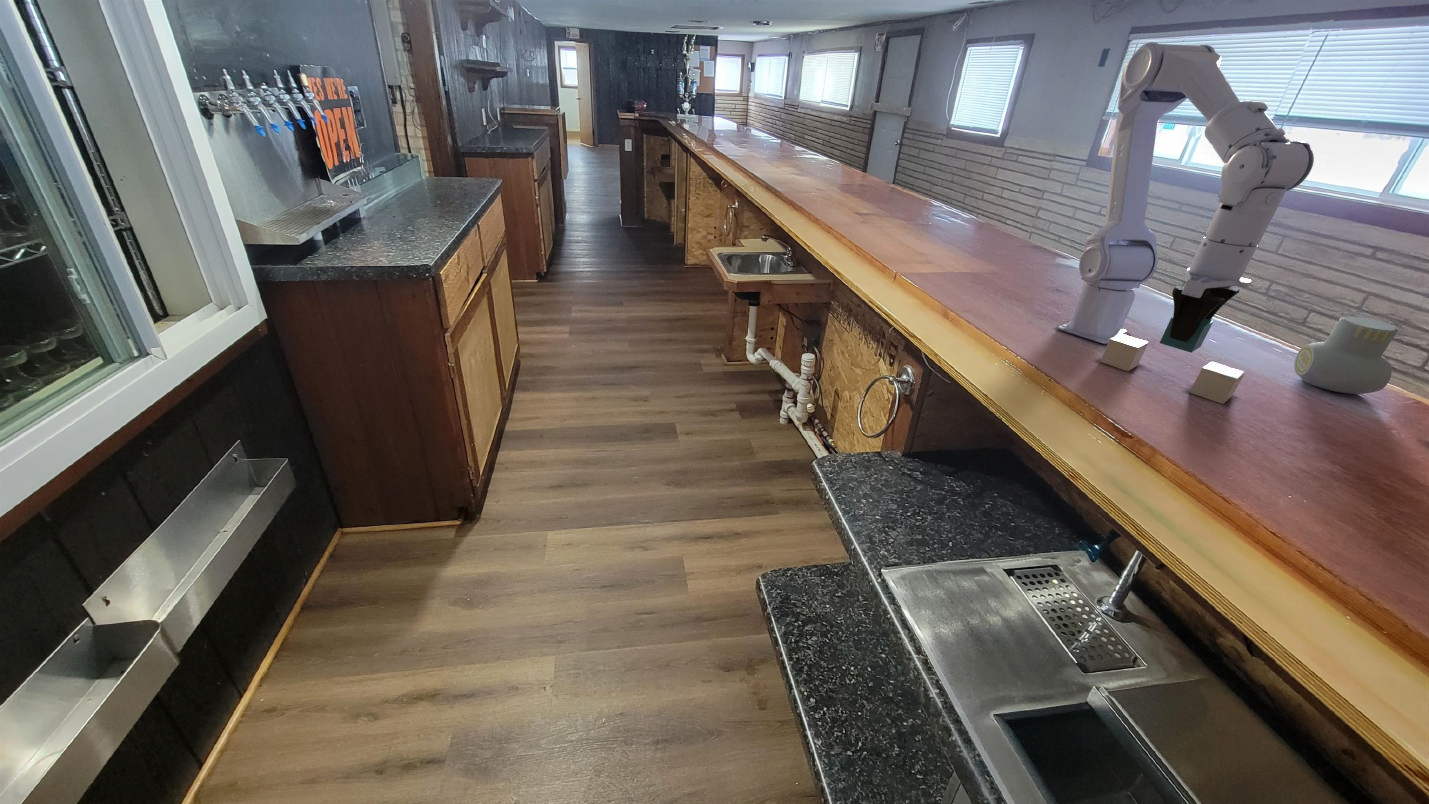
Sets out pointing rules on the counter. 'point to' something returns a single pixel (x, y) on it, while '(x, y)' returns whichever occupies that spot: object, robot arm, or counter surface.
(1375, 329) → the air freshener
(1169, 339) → the teal block
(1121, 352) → the line block
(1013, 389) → the counter surface
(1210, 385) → the line block
